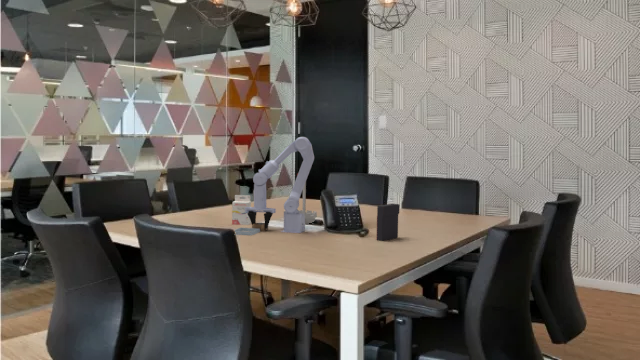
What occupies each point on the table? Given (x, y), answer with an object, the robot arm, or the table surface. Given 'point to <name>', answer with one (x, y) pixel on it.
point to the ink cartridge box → (241, 210)
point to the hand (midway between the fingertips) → (260, 227)
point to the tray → (252, 230)
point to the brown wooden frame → (259, 227)
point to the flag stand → (309, 215)
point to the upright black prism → (387, 221)
